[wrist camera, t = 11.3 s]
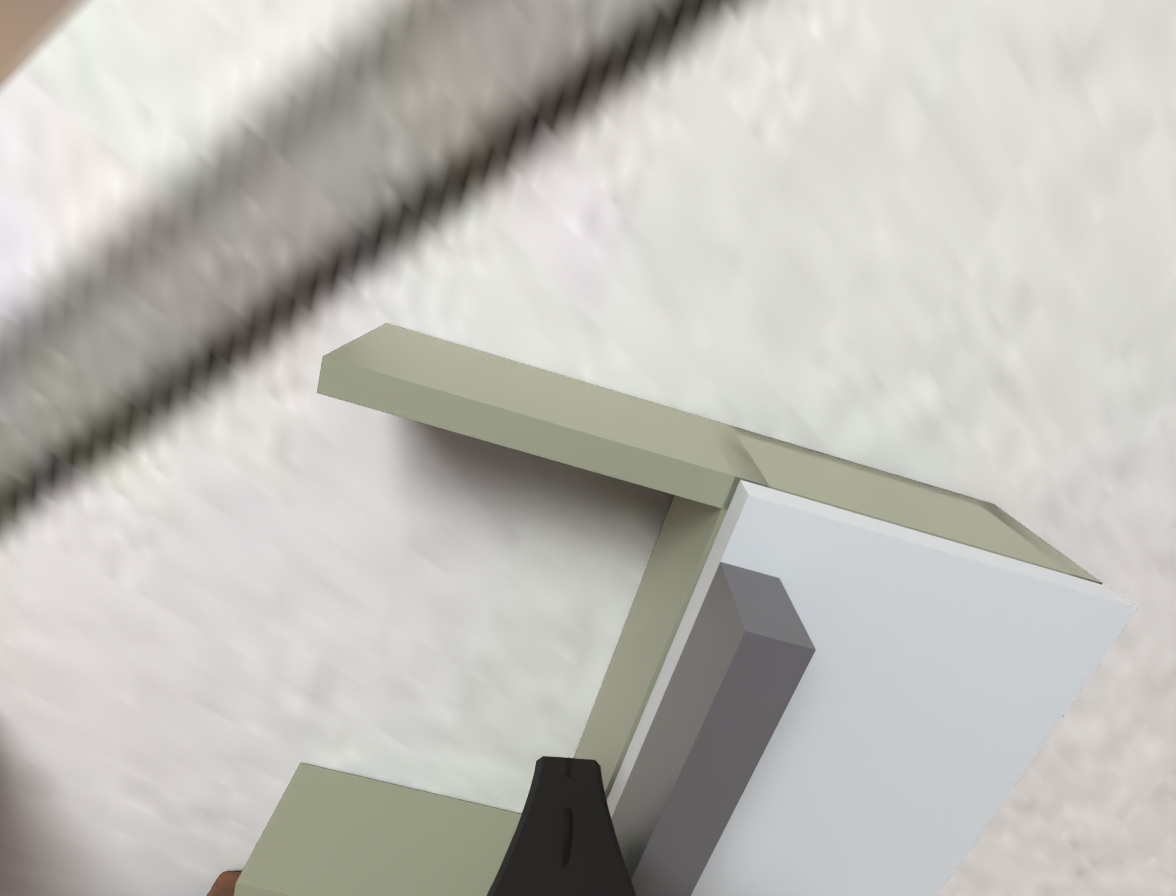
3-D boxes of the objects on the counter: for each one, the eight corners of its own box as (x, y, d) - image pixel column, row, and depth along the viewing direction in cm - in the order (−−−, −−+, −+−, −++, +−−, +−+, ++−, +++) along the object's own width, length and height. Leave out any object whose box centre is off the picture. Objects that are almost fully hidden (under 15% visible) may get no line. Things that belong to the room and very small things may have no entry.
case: (993, 504, 14) (1102, 583, 11) (774, 889, 18) (810, 1024, 15) (386, 323, 13) (322, 355, 10) (296, 779, 17) (232, 902, 14)
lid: (1110, 586, 11) (1244, 684, 9) (814, 1029, 15) (853, 1173, 13) (739, 479, 10) (780, 553, 8) (535, 971, 14) (524, 1111, 12)
